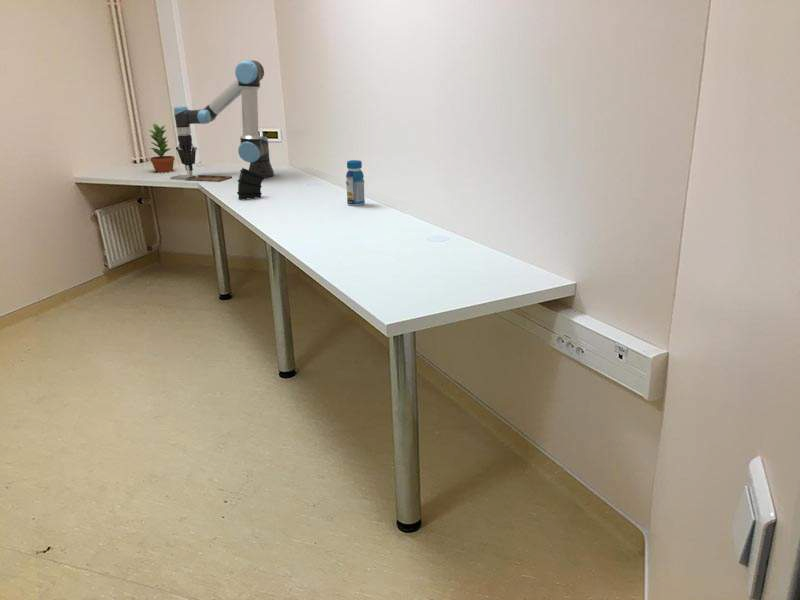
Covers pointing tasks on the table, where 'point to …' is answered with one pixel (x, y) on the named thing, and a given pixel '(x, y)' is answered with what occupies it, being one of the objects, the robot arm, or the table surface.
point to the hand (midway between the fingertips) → (190, 176)
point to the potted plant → (161, 151)
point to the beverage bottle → (355, 183)
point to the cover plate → (182, 177)
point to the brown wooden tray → (209, 178)
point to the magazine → (249, 184)
